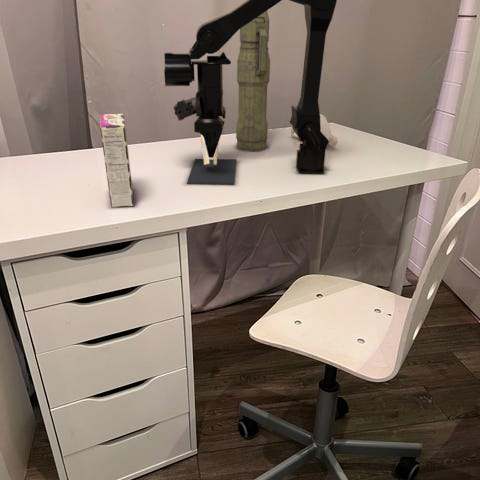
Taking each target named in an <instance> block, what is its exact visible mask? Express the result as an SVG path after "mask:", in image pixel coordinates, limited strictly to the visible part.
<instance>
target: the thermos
mask: <svg viewBox="0 0 480 480" xmlns="http://www.w3.org/2000/svg"><path fill="white" fill-rule="evenodd" d="M269 40H270V17H269V13H268V10H267V11H266V12H264V13H263V14H261V15H260V16H258V17H257V18H255V19H254V20H252V21H251V22H249V23H248V24H246V25H245V26H243V27H242V28H240V29H239V41H240V44H239V45H240V46H239V52H238V56H237V59H236V81H237V85H238V106H237V107H238V110H237V111H238V112H237V113H238V115H237V121H236V124H235V126H236V127H235V139H236V148H237V150H241V151H245V152H262V151H264V150H266V149H267V140H268V129H269V124H268V120H267V108H268V106H267V105H268V84H269V83H270V73H271V57H270V54H269V46H268V45H269V42H270V41H269Z"/></svg>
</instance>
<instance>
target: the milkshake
mask: <svg viewBox="0 0 480 480" xmlns="http://www.w3.org/2000/svg"><path fill="white" fill-rule="evenodd" d="M200 140H201V149H202V159H203V160H204V166H206V167H215V166H217V161H218V159H219V144H218V145H217V148H216V151H215V154H214V157H213V158H210V157H209V156H208V152H207V148H206V144H205V140H204V137H203V136H202V135H201V134H200Z"/></svg>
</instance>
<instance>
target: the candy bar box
mask: <svg viewBox="0 0 480 480" xmlns="http://www.w3.org/2000/svg"><path fill="white" fill-rule="evenodd" d="M99 121H100V123H99V124H100V125H99V130H100V136H101V144H102V145H101V146H102V151H103V160H104V165H105V172H106V179H107V187H108V195H109V202H110V207H111V208H113V209H114V208H115V209H118V208H128V207H135V204H134V203H135V202H134V190H133V183H132V173H131V162H130V156H129V155H130V154H129V147H128V137H127V129H126V122H125V115H124V113H109V114H108V113H104V114H100V120H99Z"/></svg>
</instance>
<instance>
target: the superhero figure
mask: <svg viewBox="0 0 480 480" xmlns="http://www.w3.org/2000/svg"><path fill="white" fill-rule="evenodd" d="M320 123H321V133H322V134H323V135H324V136H325V137H326V138H327V139H328V140H329V143H328V146H329V147H331V148H335V147H336V146H337V144H338V137H336V136H334V135H333V133H332V129H331V125H330V123H329V122H328V121H327V118H326V116H325V115H323V114H322V113H320ZM290 126H291V128H290V137H291V138H294V134H295V132H294V131H293V128H292V125H291V124H290Z"/></svg>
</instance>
